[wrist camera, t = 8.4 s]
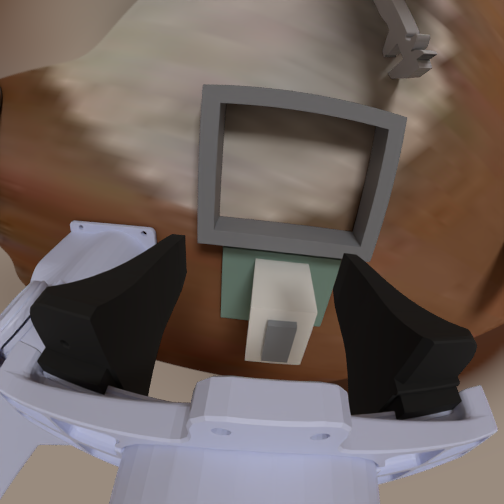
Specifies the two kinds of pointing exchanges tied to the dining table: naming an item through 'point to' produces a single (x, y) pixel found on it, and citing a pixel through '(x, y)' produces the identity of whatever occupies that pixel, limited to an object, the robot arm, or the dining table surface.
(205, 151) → the grey square frame
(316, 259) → the rubber mat
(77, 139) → the dining table surface
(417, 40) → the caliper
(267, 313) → the block
